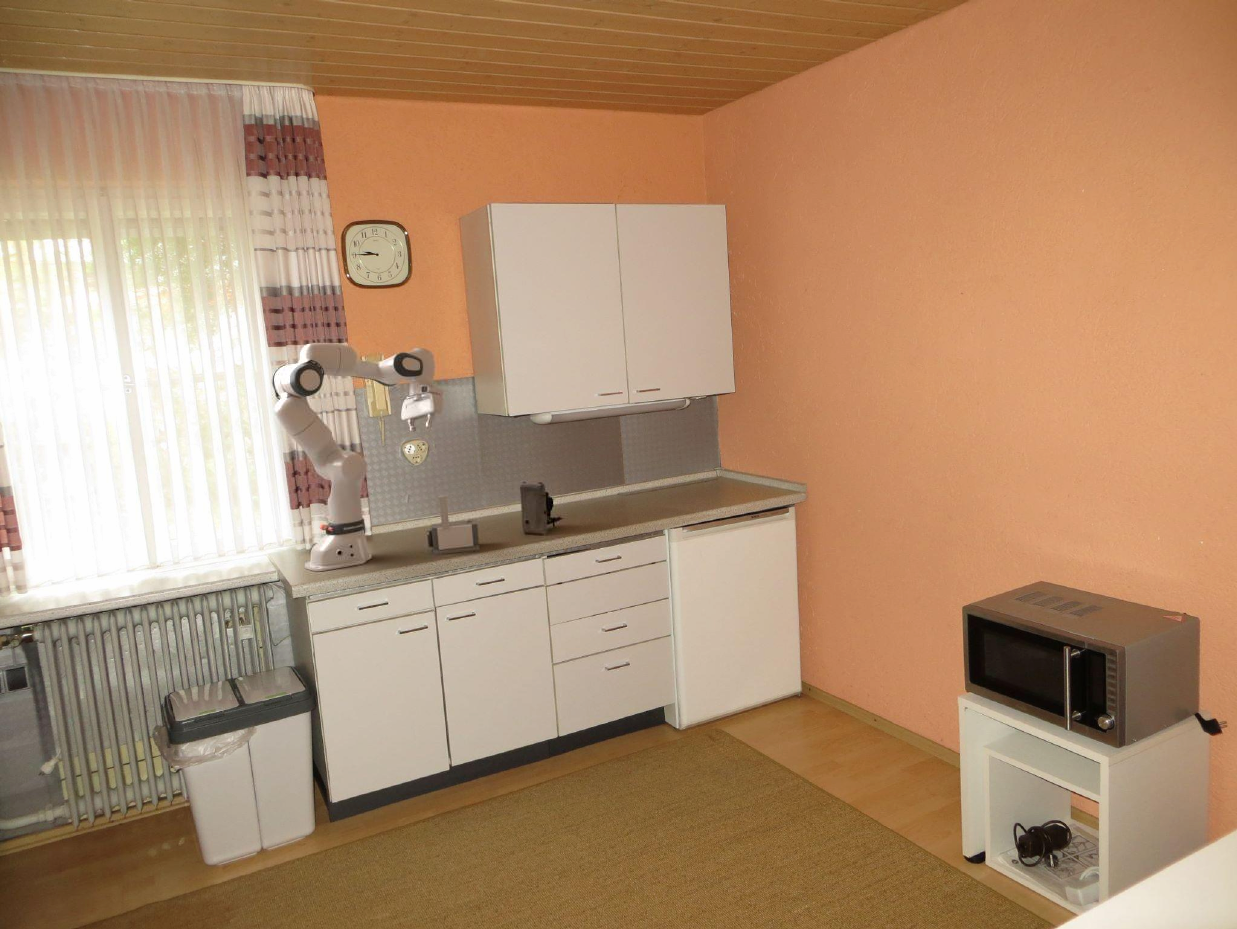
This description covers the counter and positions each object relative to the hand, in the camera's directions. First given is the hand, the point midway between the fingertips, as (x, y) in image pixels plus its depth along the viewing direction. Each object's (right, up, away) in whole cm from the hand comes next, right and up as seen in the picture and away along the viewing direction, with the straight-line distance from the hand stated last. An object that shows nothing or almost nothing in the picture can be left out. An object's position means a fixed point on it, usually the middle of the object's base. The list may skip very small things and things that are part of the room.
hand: (420, 429), depth 328 cm
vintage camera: (+44, -38, +16) cm, 60 cm away
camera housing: (+13, -43, -6) cm, 45 cm away
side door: (+15, -42, -10) cm, 46 cm away
